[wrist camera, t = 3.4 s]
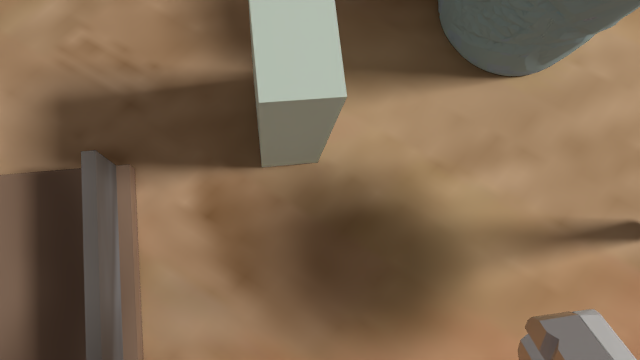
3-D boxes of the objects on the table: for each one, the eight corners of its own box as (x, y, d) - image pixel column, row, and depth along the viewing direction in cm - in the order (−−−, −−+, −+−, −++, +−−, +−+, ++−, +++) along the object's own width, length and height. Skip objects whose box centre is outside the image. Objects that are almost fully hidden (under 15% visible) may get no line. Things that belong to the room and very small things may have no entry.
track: (-39, 539, 22) (-106, 597, 18) (-32, 182, 24) (-89, 164, 21) (150, 508, 23) (125, 556, 19) (134, 168, 25) (111, 149, 22)
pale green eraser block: (261, 167, 26) (258, 102, 16) (253, 78, 27) (246, -33, 17) (317, 162, 27) (346, 96, 17) (307, 75, 28) (330, -36, 18)
